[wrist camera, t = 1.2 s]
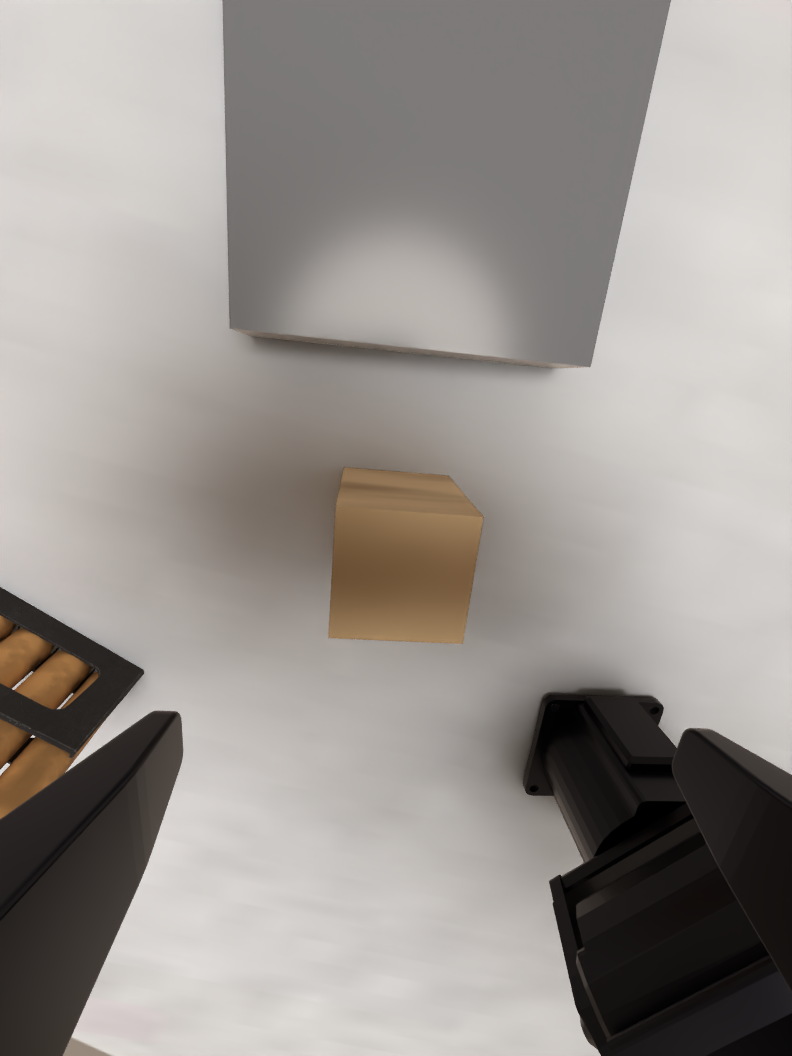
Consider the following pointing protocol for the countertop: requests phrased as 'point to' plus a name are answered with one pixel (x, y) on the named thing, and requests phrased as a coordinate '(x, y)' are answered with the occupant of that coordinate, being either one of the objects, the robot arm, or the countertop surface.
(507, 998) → the countertop surface
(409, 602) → the wooden block
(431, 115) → the slate base
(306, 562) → the countertop surface
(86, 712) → the ammunition clip
